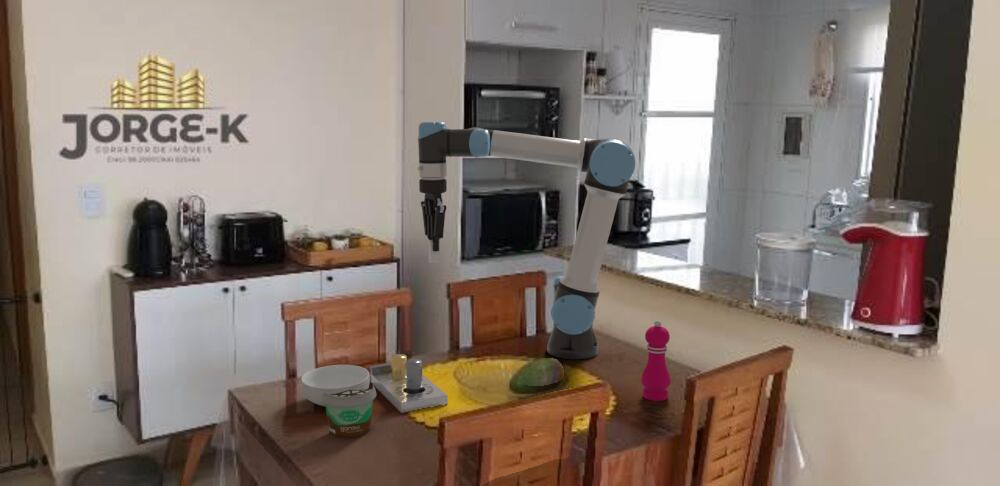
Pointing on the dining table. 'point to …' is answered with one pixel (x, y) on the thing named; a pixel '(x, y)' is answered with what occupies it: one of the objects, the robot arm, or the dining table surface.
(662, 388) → the pepper mill
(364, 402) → the food container
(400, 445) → the dining table surface
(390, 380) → the plate
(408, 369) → the steel bushing
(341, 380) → the cereal bowl
